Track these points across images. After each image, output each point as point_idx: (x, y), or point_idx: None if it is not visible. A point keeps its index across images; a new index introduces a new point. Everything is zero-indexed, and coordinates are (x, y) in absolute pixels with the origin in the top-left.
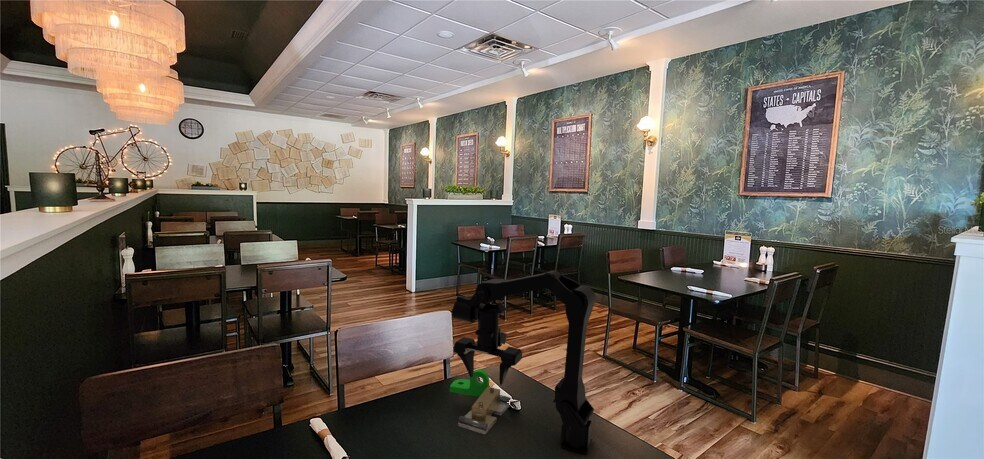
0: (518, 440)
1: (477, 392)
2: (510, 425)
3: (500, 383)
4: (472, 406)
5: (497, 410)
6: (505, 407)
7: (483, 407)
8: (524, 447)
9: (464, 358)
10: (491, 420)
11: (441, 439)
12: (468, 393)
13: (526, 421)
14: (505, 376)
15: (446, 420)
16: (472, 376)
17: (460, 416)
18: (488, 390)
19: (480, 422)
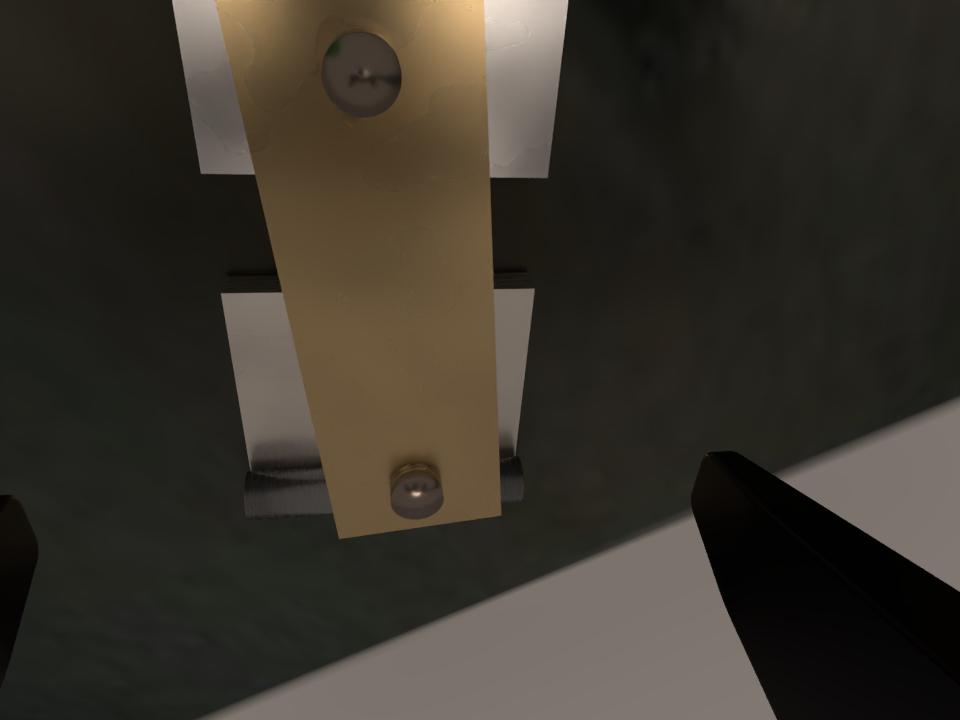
0: (753, 407)
1: None
2: (665, 271)
3: (712, 533)
4: (343, 533)
5: (495, 158)
6: (563, 39)
7: (459, 496)
8: (798, 447)
9: None
10: (504, 349)
11: (259, 616)
12: None
13: (806, 138)
14: (866, 544)
15: (111, 460)
16: (24, 514)
17: (255, 515)
18: (307, 102)
19: None
